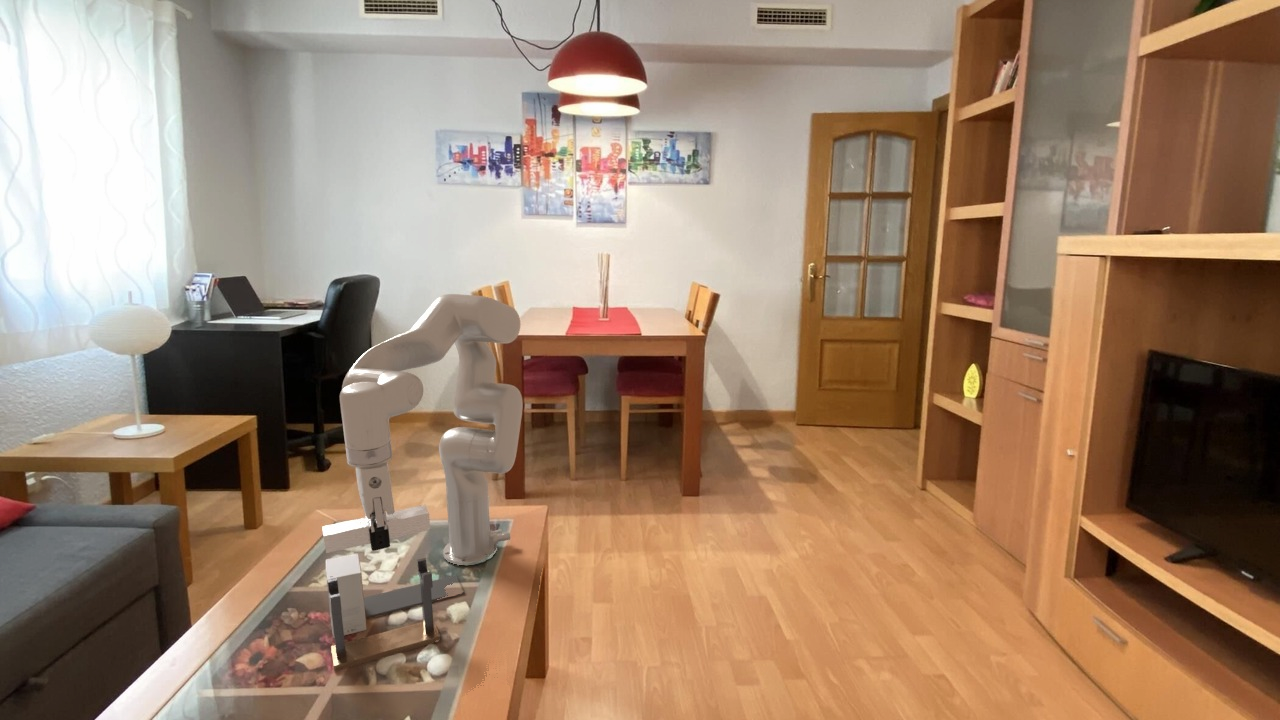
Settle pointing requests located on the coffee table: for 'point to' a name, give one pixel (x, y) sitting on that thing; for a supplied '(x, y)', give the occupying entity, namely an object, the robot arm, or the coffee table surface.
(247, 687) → the coffee table surface
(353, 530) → the rail
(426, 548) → the coffee table surface
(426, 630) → the rack
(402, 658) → the coffee table surface
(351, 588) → the small box
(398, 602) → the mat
